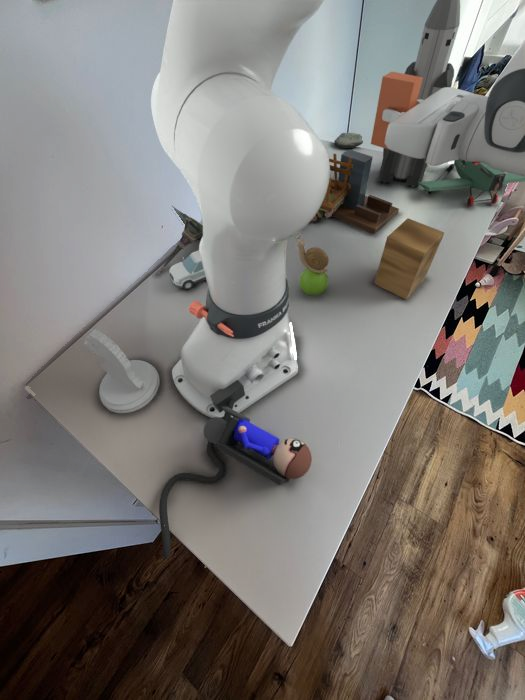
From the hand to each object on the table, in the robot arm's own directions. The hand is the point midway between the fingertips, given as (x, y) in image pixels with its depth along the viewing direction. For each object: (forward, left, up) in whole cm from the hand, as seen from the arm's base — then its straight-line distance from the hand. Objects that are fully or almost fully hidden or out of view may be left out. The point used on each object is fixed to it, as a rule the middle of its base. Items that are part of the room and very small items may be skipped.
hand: (390, 109), depth 63 cm
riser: (-15, -17, -22) cm, 32 cm away
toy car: (-39, +16, -22) cm, 48 cm away
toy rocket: (+19, +3, -22) cm, 29 cm away
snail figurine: (-28, -5, -22) cm, 36 cm away
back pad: (0, -1, -6) cm, 6 cm away
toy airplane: (+25, -13, -23) cm, 37 cm away
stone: (+26, +25, -19) cm, 41 cm away
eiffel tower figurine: (-32, +23, -17) cm, 43 cm away
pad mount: (0, +2, -22) cm, 22 cm away
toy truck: (-7, +17, -22) cm, 29 cm away
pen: (+18, -9, -20) cm, 28 cm away
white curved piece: (-65, +4, -22) cm, 69 cm away
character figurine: (-59, -20, -22) cm, 66 cm away
